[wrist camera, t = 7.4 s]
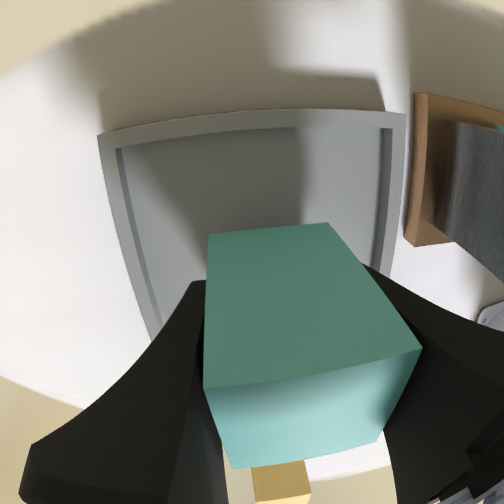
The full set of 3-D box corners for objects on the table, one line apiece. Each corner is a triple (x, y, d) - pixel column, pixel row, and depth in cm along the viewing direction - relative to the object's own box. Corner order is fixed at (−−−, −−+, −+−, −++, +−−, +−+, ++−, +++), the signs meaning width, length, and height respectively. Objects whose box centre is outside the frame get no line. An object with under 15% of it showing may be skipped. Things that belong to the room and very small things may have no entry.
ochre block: (294, 448, 23) (306, 504, 18) (251, 454, 23) (258, 511, 17) (296, 429, 21) (311, 493, 16) (247, 436, 21) (255, 502, 16)
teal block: (322, 313, 12) (375, 441, 7) (223, 326, 12) (232, 468, 6) (327, 222, 10) (422, 347, 5) (208, 234, 10) (203, 388, 5)
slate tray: (365, 321, 16) (375, 339, 14) (165, 346, 15) (162, 367, 14) (386, 111, 11) (405, 114, 9) (111, 131, 10) (96, 135, 9)
